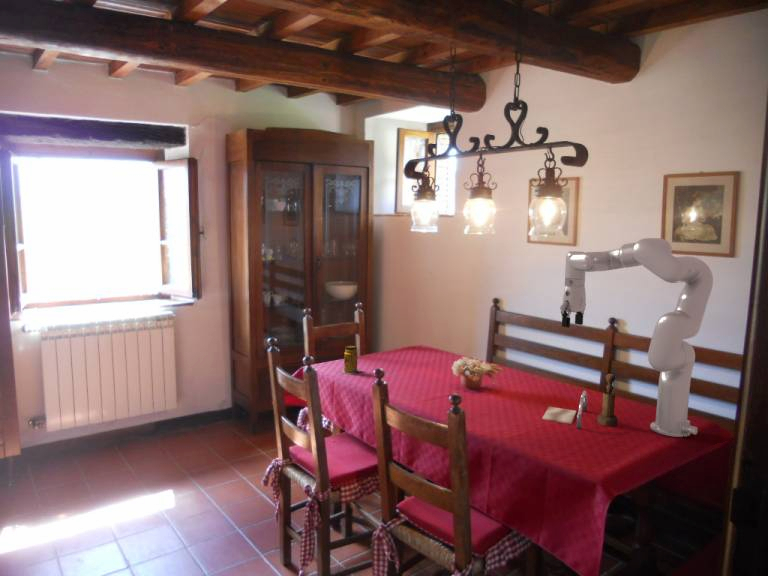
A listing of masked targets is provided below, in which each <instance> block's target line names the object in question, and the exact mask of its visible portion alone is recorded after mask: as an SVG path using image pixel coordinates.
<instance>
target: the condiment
mask: <svg viewBox="0 0 768 576" xmlns="http://www.w3.org/2000/svg"><path fill="white" fill-rule="evenodd" d="M344 348H345V351H344V354H343V356H344V357H343V358H344V363H343V364H344V365H343V367H344V368H343V370H342V371H341V370H340V372H341V373H344V374H348V375H349V376H350V375H354V374H359V373H363V372H364V370H360V369H358V352H357V351H358V350H357V346H356V345H346V346H345V347H344ZM359 370H360V372H359ZM357 372H358V373H357Z"/></svg>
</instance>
